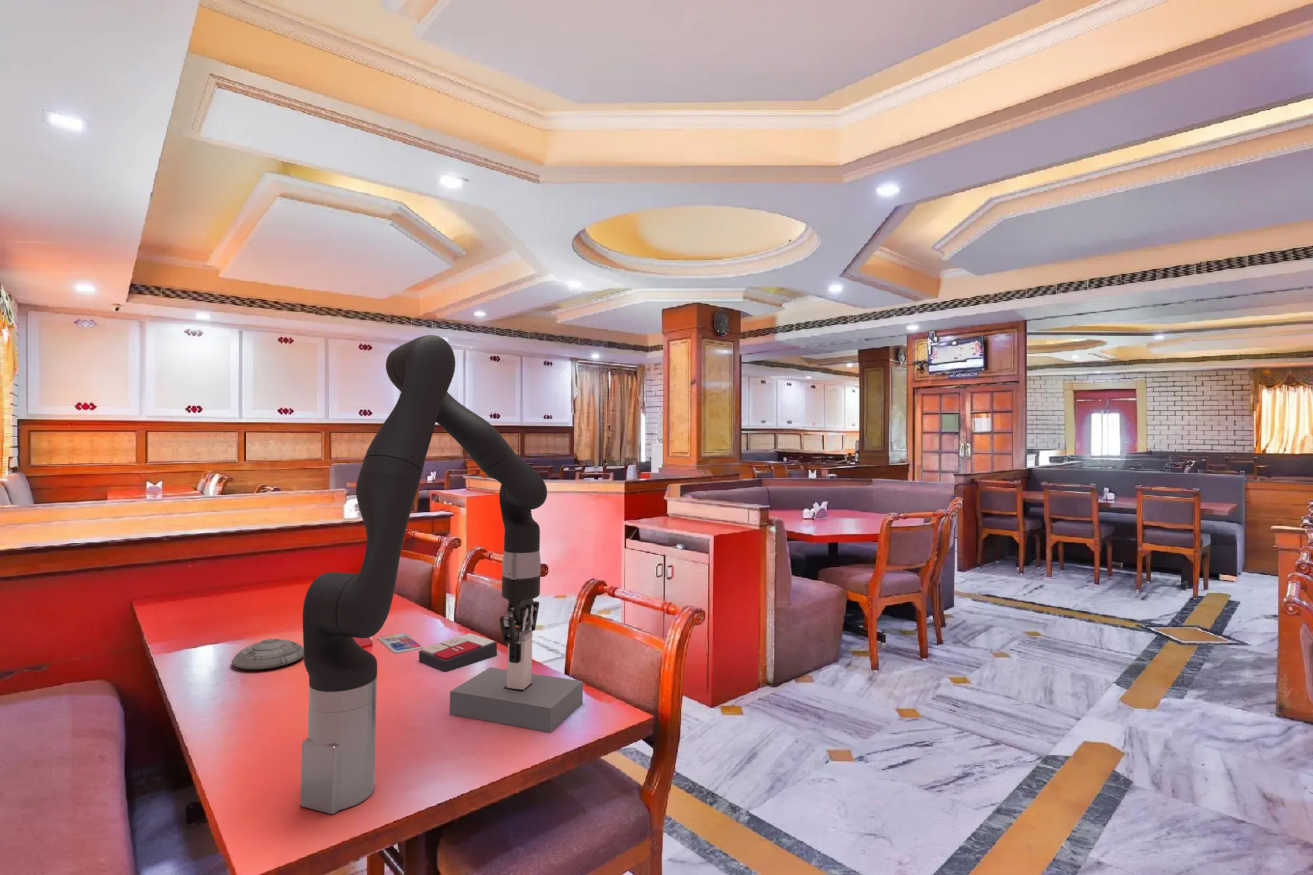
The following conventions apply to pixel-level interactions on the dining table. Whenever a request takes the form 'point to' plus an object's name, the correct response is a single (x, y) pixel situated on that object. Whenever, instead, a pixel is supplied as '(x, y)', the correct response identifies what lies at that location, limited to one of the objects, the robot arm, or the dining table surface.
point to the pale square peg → (521, 664)
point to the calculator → (458, 652)
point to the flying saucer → (268, 654)
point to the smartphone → (400, 643)
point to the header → (517, 700)
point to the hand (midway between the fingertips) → (519, 658)
